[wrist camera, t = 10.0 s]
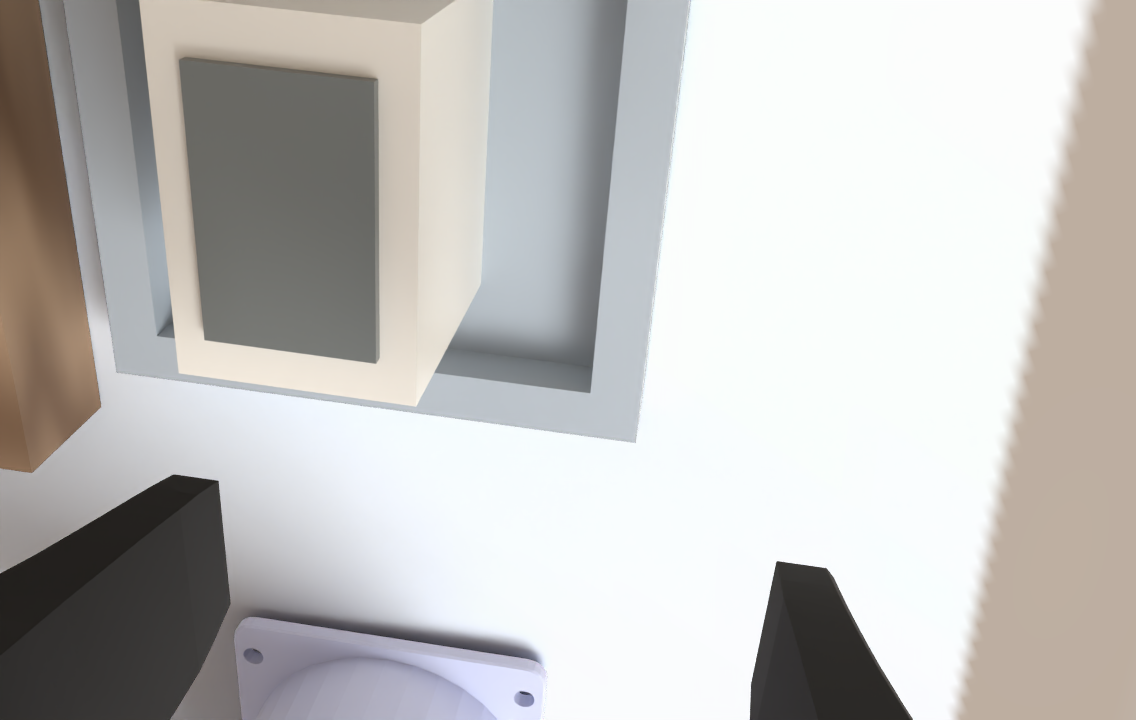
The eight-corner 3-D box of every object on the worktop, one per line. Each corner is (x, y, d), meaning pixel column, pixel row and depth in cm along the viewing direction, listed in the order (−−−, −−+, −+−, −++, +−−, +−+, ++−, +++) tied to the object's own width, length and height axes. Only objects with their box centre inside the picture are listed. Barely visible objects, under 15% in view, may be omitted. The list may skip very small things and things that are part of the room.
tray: (641, 403, 23) (635, 442, 22) (153, 339, 24) (116, 372, 23) (710, -166, 18) (708, -163, 16) (84, -220, 19) (31, -221, 17)
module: (480, 284, 22) (413, 413, 17) (289, 259, 22) (173, 379, 17) (494, -28, 19) (417, 27, 14) (275, -51, 19) (131, -5, 15)
